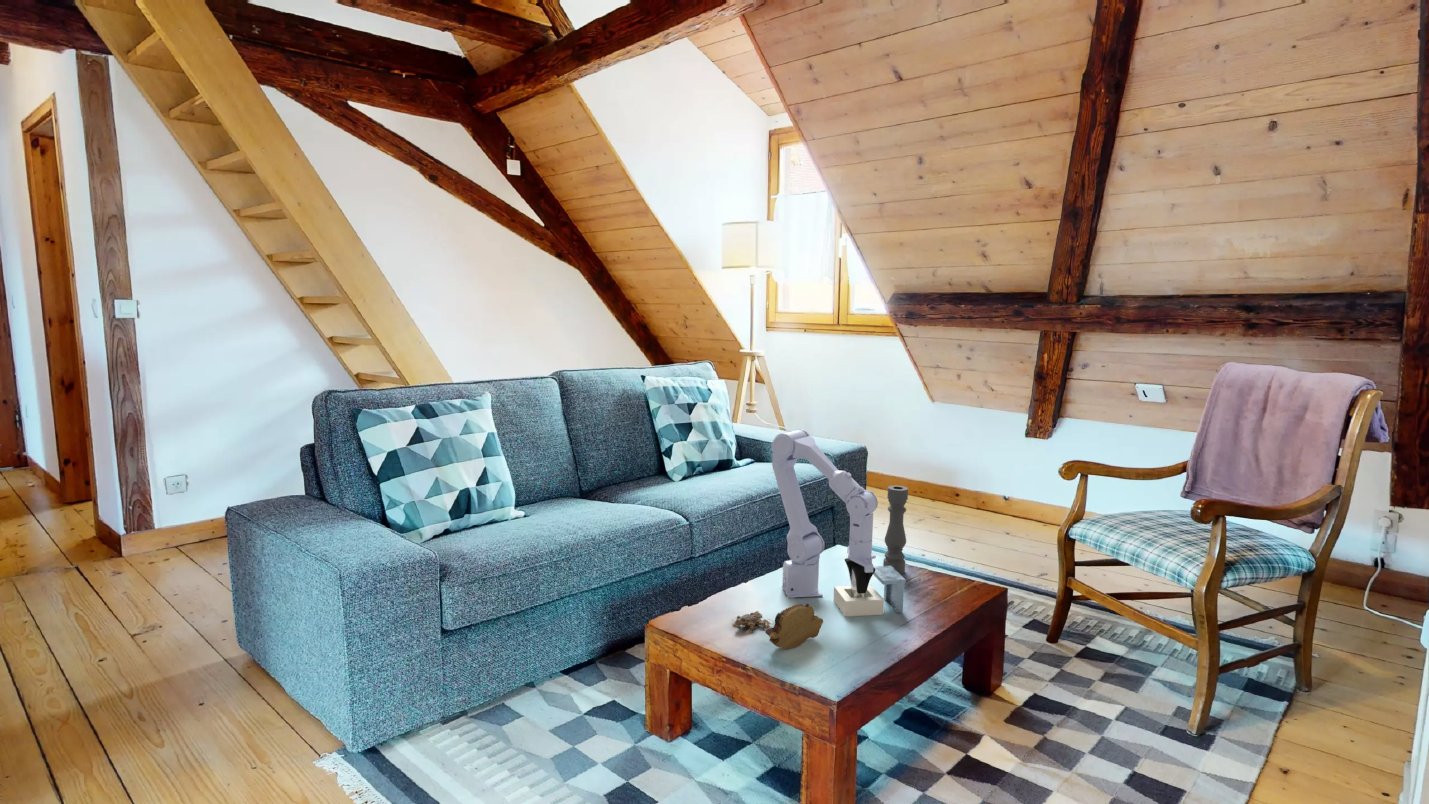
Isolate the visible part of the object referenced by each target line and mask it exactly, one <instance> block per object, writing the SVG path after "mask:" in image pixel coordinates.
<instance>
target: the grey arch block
mask: <svg viewBox="0 0 1429 804" xmlns="http://www.w3.org/2000/svg"><path fill="white" fill-rule="evenodd" d="M873 567H874V568H875V572H874V574H873V575H872V576H874V577H875V578H876V580H878V581H879V583H881V585H884V588H883V599H885V600H884V602H889V603H890V605H891V606H893V607H894V612H895V613H896V614H903V613H904V593H905V591H904V589H905V584H906V581H907V580H906V578H904V577H903V575H900V574H899V573H898V572H897V571H896V570H895V569H894V568H893V567H892V566H883V565H882V566H881V565H880V566H879V565H878V566H873Z"/></svg>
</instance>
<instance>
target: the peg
mask: <svg viewBox="0 0 1429 804" xmlns="http://www.w3.org/2000/svg"><path fill="white" fill-rule="evenodd" d="M859 567H860V566H859ZM850 584H851V585H850V586H851V598H860V597H867V591H866V593H861V594H858V593H857V588H856V579H855V574H854V571H853V569H852V582H851V581H850Z"/></svg>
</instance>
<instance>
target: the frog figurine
mask: <svg viewBox="0 0 1429 804" xmlns="http://www.w3.org/2000/svg"><path fill="white" fill-rule="evenodd" d="M734 619H736V620H735V621H734V622H733V620H734ZM732 622H733V623H732ZM730 623H732V625H731V626H732V628H734V627H743V626H744V627H745V628H747V629H748V630H746V631H745V633H746V634H748V635H750V634H752V633H753V632H754V631H753V630H754V629H756V628H759V627H760V626H762V628H763V629H764V630H767V629H770V628H773V624H774V622H773V620H771V619H770V618H767V619H763V614H761V612H759V610H756V611H753V612H751V613H750V614H749V613H746V614H743V615H742V616H741V615H738V616H736V617H734V618H732V619H730ZM772 623H773V624H772Z"/></svg>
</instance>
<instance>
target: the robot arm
mask: <svg viewBox="0 0 1429 804" xmlns="http://www.w3.org/2000/svg"><path fill="white" fill-rule="evenodd" d="M770 446H771V447H770V448H771V451H772V460H771V462H772V463H771V465H772V470H773V473H774V477H775V480H776V484H777V487H778V490H779V495H780V497H781V501H782V505H783V508H784V511H785V514H786V519H787V521H788V524H789V531H788V533H787V535H786V540H787V541H786V542H787V549H786V550H787V555H788V557H789V558H790V559H789V560H785V561H783V566H782V585H781V588H782V590H783V591H784V593H785V595H786V596H787V597H788V598H790V599H791V598H811V597H814V598H815V597H823V593H822V592H821V590H820V589H819V577H820V576H819V574H820V572H819V571H820V569H819V568H820V557H821V554H822V553H824V551H825V541H824V539H823V537H822V536H821V535H820V533H819V531H818V528H817V526H816V525H814V524H813V523H811V521H810V518H809V515H808V512H807V507H806V505H805V501H804V497H803V494H802V491H801V488H800V484H799V480H798V477H797V473H796V471H795V465H796V463H797V461H798V460H801V459H802V460H807V461H808V463H810V464H811V465H812V466H814V468H816V469H817V470H818V472H820V473H821V474H822V475H823V476H825V478H827V480H828V486H829V488H830V489H831V490H832V491H833V492H834V493H835V494H836V495H837V496H838V497H839V498H840V499H841V500H842V501H843V502H844V503H845V508H846V510H847V513H848V514H849V541H848V544H849V545H847V553H846V554H847V557H846V558H844V562H845V565H846V567H847V570H848V574H849V580H850V583H851V582H852V569H853V571H854V574H855V579H856V588H857V593H858V594H861V593H866V591H867V588H868V585H870V581H871V578H872V577H873V576H874V575H873V574H874V572H875V568H874V567H875V566H874V563H873V559H876V558H877V555H876V554H875V553H872V549H873V529H874V528H873V527H874V512H875V511H876V510H877V508H878V505H879V504H878V502H879V501H878V498H877V496H876V495H875V493H874V492H873V491H871V490H868V489H867V490H866V489H865V488H864V487H863V486H861V485H860V484H859V483H858V482H857V481H856V480H855V479H854V478H853V477H852V474H851V473H850V472H847V471H846V470H839V469H838V468H837V467H836V466H835V465H834V464H833V462H832V461H831V460H830V459H829V457H827V455H826V454H825V453H824V452H823V451H822V450H821V449H820V447H819V446H818V445H817V444H816V441H815V438H814V437H813V436H812V435H810V434H809V432H808V431H807V430H805V429H802V428H797V429H795V430H793V431H788V432H783V433H779V434H777V435H776V436H775V438H774V439H773V440H772V442H771V443H770ZM859 566H860V567H859Z"/></svg>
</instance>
